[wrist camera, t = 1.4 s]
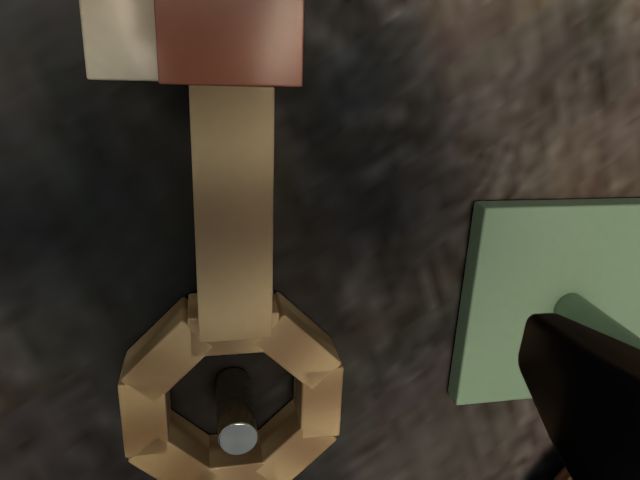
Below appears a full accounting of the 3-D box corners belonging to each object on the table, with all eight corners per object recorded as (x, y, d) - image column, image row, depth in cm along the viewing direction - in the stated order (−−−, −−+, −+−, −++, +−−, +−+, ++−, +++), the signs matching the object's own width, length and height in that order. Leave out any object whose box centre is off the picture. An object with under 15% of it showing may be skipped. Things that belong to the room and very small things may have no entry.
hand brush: (326, 451, 25) (343, 508, 22) (135, 472, 24) (126, 536, 21) (357, -122, 17) (389, -152, 15) (75, -149, 16) (47, -189, 13)
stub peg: (250, 394, 23) (258, 453, 20) (215, 397, 23) (218, 458, 20) (249, 365, 23) (258, 421, 20) (215, 368, 23) (217, 425, 19)
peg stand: (621, 376, 27) (777, 507, 20) (446, 392, 25) (546, 542, 18) (669, 196, 24) (876, 272, 17) (473, 200, 22) (608, 287, 15)
